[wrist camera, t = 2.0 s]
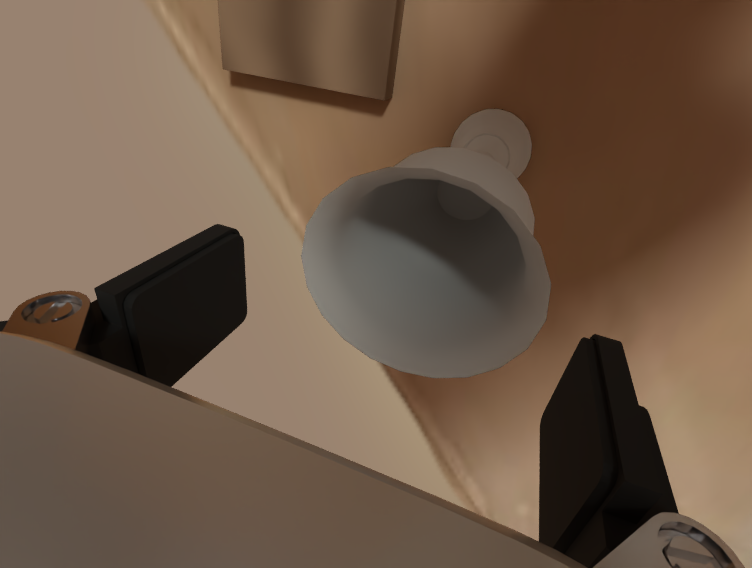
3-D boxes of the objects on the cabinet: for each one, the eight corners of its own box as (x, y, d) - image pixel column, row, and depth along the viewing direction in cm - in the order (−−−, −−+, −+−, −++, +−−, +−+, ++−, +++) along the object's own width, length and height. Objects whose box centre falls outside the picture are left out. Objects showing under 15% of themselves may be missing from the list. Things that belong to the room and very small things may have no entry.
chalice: (566, 101, 24) (592, 198, 9) (533, 212, 27) (513, 407, 13) (443, 85, 25) (299, 144, 11) (426, 190, 29) (302, 339, 15)
